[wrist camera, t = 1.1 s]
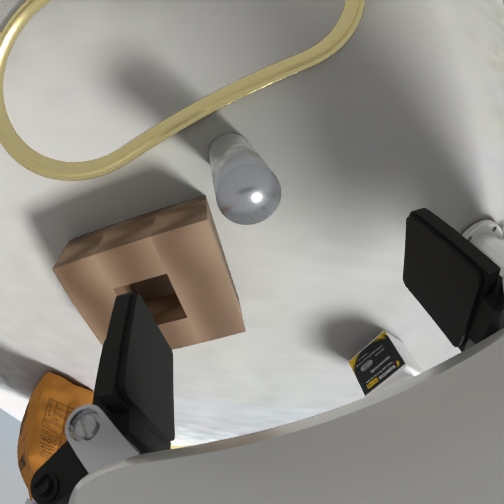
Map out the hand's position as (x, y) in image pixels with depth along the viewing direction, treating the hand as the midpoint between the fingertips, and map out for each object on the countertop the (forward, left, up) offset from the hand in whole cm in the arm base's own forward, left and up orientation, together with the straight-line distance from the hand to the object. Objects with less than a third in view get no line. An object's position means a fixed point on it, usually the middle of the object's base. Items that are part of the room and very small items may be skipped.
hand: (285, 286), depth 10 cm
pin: (0, 0, -18) cm, 18 cm away
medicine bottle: (-14, +33, -19) cm, 40 cm away
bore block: (+10, +9, -18) cm, 23 cm away
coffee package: (+34, +25, -19) cm, 46 cm away
